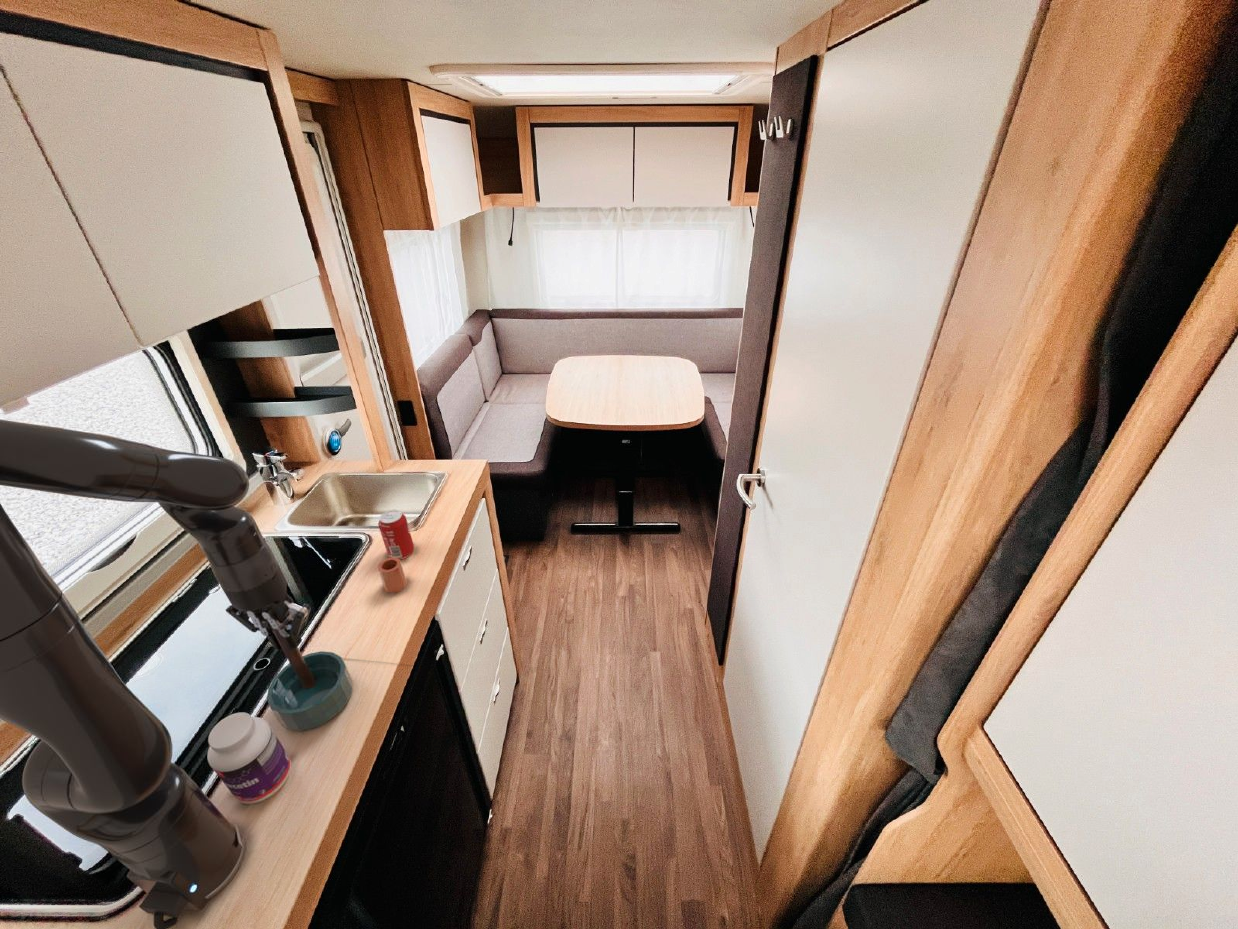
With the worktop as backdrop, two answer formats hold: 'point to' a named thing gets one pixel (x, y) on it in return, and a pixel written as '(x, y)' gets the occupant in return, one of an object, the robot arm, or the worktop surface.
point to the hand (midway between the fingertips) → (288, 645)
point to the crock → (392, 575)
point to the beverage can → (396, 534)
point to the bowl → (311, 692)
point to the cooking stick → (296, 663)
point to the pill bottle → (248, 757)
